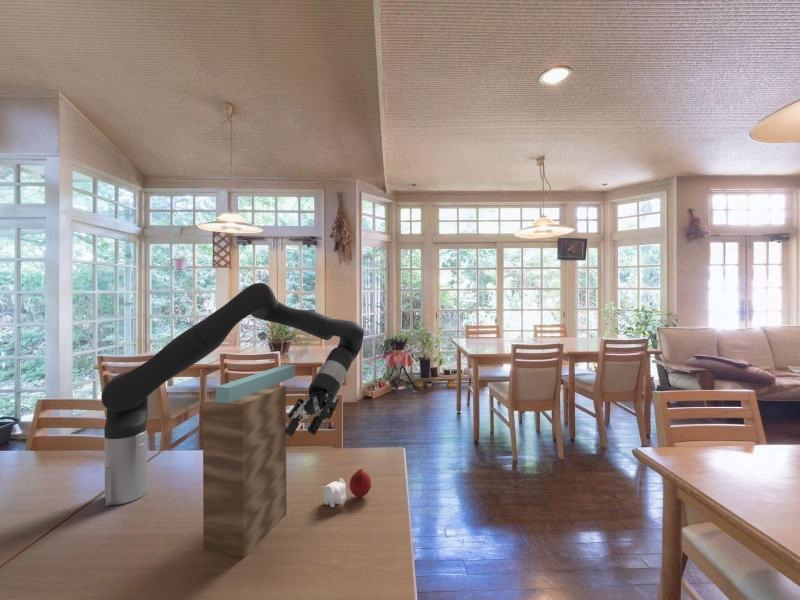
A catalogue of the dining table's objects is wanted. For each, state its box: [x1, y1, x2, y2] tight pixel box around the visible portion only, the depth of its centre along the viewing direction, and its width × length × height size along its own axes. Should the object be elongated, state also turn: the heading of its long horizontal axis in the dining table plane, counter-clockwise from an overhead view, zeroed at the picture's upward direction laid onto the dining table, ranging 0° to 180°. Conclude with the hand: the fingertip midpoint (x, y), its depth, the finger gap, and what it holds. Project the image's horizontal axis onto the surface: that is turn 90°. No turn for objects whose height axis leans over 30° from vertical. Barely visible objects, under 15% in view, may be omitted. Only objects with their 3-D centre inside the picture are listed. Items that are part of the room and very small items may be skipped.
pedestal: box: [202, 384, 287, 559], centre depth 85 cm, size 16×10×32 cm, turn 165°
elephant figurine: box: [321, 477, 348, 508], centre depth 95 cm, size 7×8×6 cm
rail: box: [215, 364, 296, 403], centre depth 89 cm, size 26×3×3 cm, turn 165°
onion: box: [349, 467, 372, 499], centre depth 98 cm, size 6×6×8 cm
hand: (299, 433), depth 89 cm, fingers open, 8 cm apart
